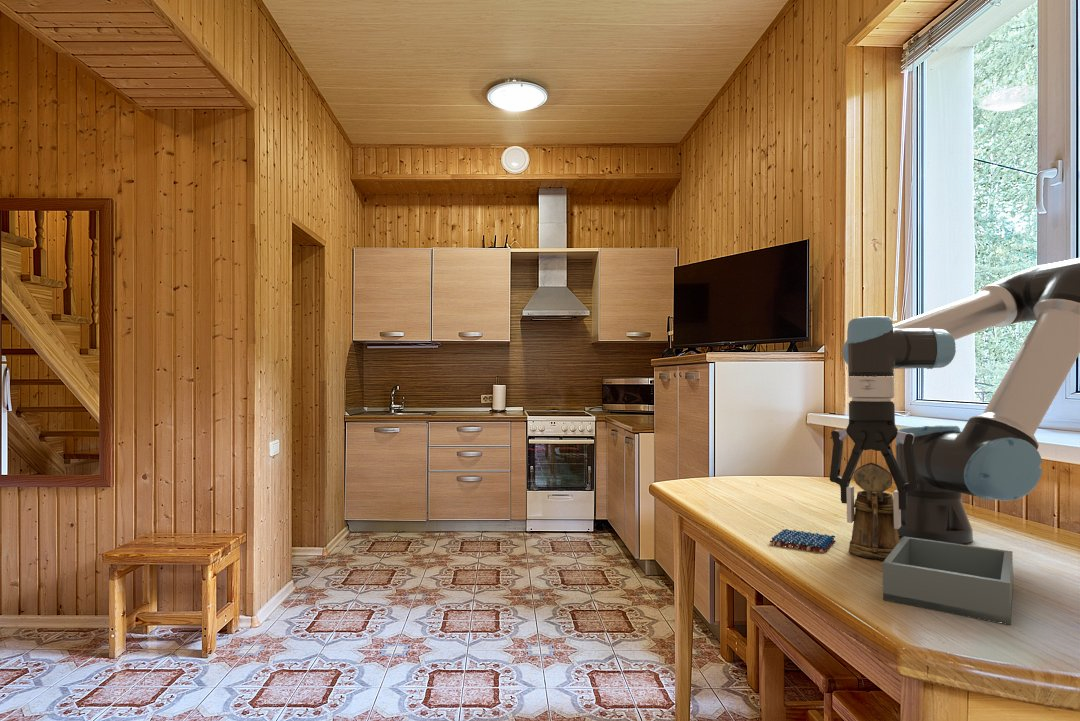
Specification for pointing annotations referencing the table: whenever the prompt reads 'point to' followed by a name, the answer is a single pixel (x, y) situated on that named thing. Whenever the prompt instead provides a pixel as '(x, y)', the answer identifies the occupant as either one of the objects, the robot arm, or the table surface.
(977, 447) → the robot arm
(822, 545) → the woven mat
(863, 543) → the wooden mug
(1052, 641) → the table surface
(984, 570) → the bin
